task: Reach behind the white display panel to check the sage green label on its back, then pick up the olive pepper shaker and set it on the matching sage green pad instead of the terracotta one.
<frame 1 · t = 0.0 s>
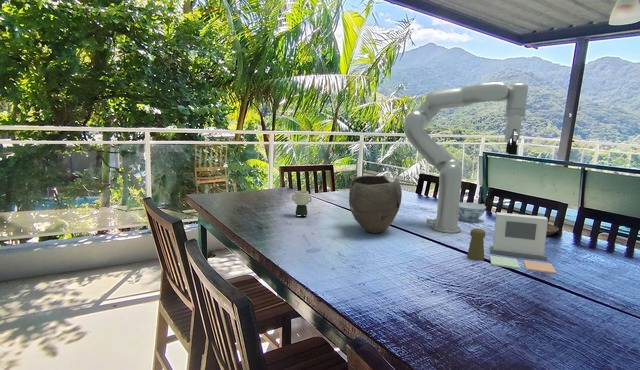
hand: (511, 153, 166), 37 cm above the table, tool pointing down, fingers open, 9 cm apart
clay pot: (372, 232, 173), on the table
sage pad: (504, 262, 138), on the table
plant saucer: (532, 231, 182), on the table
chinaware: (468, 220, 200), on the table
trophy cup: (301, 216, 198), on the table
terracotta pad: (538, 267, 134), on the table
white display panel: (517, 254, 148), on the table
olive pepper shaker: (475, 258, 143), on the table
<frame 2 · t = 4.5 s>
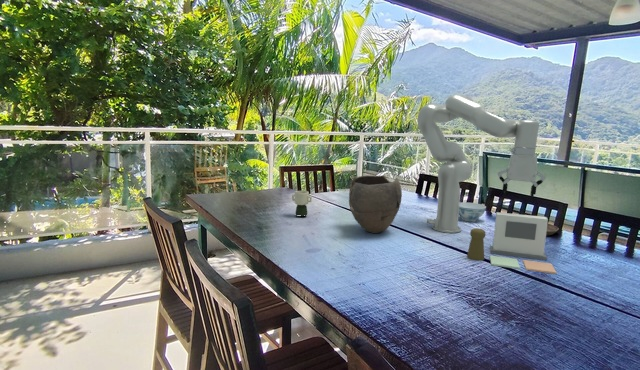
hand: (518, 194, 154), 22 cm above the table, tool pointing down, fingers open, 9 cm apart
nothing on the table moved.
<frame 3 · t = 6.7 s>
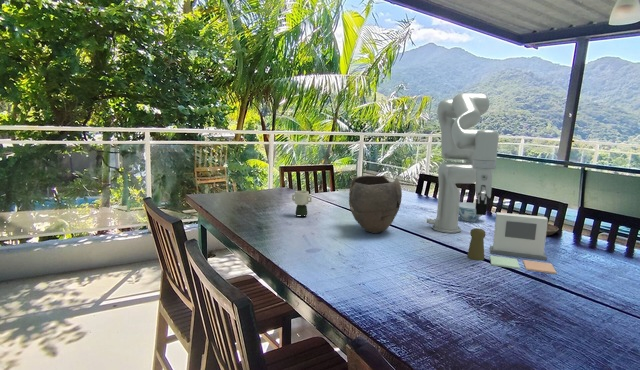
hand: (480, 212, 139), 17 cm above the table, tool pointing down, fingers open, 9 cm apart
nothing on the table moved.
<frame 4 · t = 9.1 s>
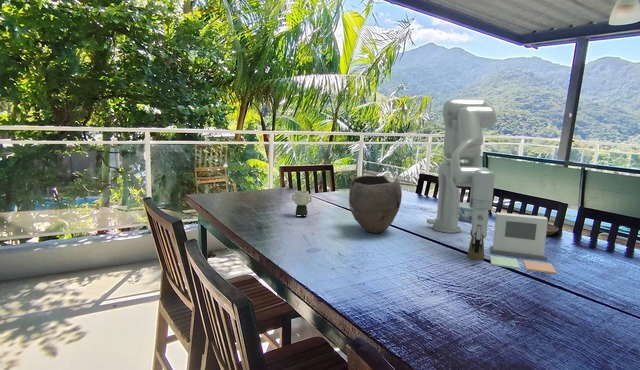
hand: (476, 251, 142), 2 cm above the table, tool pointing down, fingers closed on olive pepper shaker, 3 cm apart
olive pepper shaker: (475, 258, 142), on the table, touching gripper
everything else where it was.
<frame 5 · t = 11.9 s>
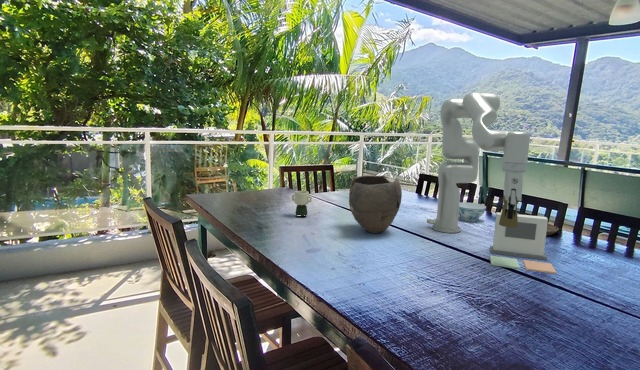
hand: (508, 218, 135), 16 cm above the table, tool pointing down, fingers closed on olive pepper shaker, 3 cm apart
olive pepper shaker: (508, 225, 135), point 14 cm above the table, touching gripper
everything else where it was.
when the fingers open (4 cm above the table, at t = 14.6 s): olive pepper shaker drops 1 cm, resting on sage pad.
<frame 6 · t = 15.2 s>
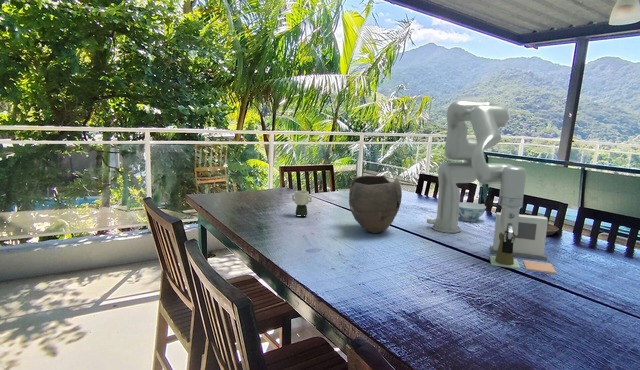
hand: (505, 248, 137), 5 cm above the table, tool pointing down, fingers open, 9 cm apart
olive pepper shaker: (504, 262, 137), resting on sage pad
everything else where it was.
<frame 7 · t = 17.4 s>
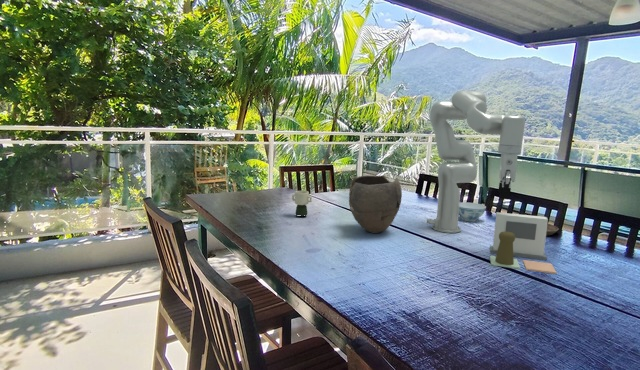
hand: (503, 195, 143), 23 cm above the table, tool pointing down, fingers open, 9 cm apart
nothing on the table moved.
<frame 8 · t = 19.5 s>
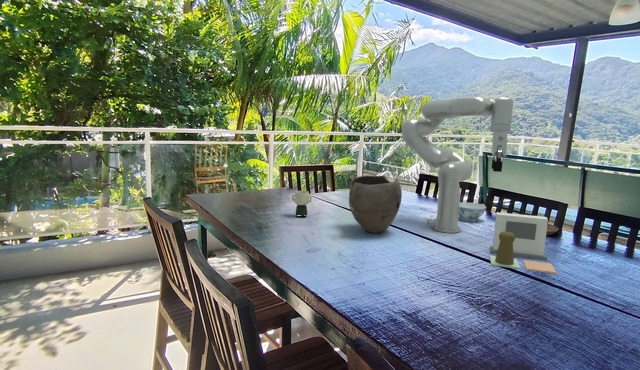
hand: (496, 170, 160), 30 cm above the table, tool pointing down, fingers open, 9 cm apart
nothing on the table moved.
at the end: olive pepper shaker 1.0 cm from the sage pad (horizontally); olive pepper shaker tilted 0°; the gripper is holding nothing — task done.
